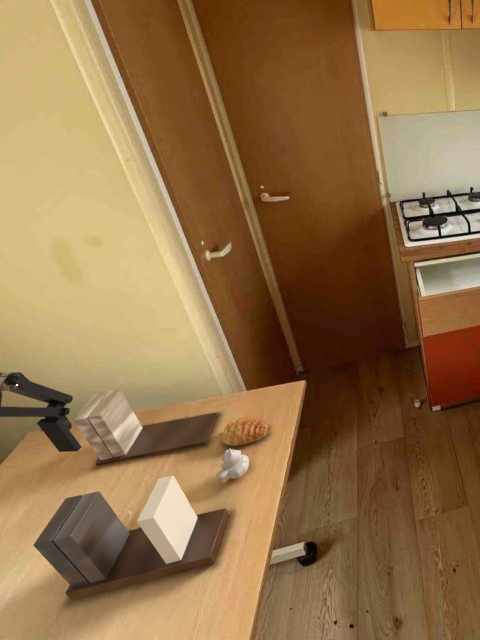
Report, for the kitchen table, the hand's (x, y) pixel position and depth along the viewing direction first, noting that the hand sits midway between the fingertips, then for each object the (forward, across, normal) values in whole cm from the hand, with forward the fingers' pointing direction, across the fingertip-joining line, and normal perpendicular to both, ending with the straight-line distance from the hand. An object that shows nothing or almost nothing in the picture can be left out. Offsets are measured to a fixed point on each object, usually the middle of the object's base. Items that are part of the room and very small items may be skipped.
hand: (28, 492), depth 59 cm
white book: (+28, +8, -6) cm, 30 cm away
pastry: (+32, +34, -4) cm, 46 cm away
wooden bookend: (+32, +34, +16) cm, 49 cm away
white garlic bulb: (+31, +23, -7) cm, 40 cm away
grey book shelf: (+31, +7, -1) cm, 31 cm away
